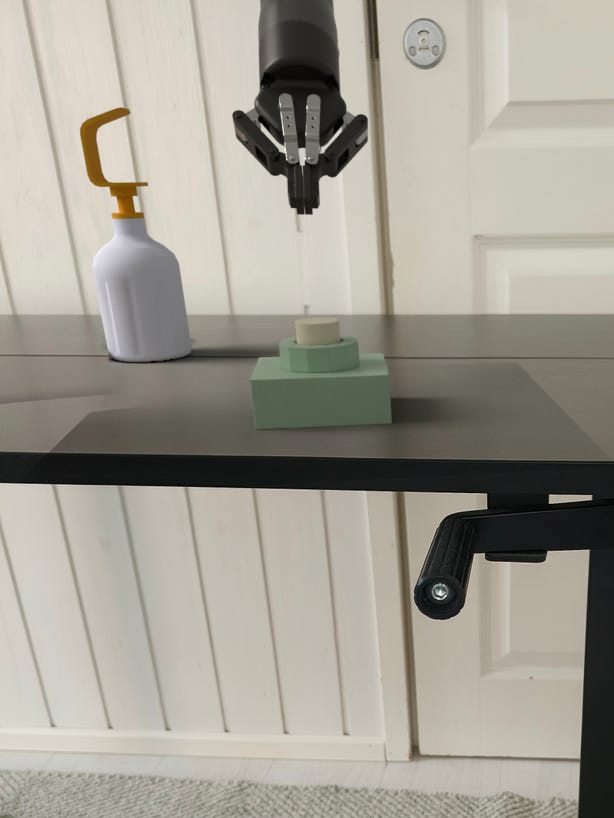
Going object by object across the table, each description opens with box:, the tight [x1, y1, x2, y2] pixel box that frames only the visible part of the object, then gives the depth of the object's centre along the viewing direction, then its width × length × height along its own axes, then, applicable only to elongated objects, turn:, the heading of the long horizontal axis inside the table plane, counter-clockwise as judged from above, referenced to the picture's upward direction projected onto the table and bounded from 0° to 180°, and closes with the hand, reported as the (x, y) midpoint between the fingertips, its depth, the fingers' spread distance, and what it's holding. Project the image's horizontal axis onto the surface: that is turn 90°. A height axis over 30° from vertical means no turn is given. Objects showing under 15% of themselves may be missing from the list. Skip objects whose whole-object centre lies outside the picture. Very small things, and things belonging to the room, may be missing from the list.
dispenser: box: [249, 334, 393, 431], centre depth 78 cm, size 11×10×6 cm
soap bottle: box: [79, 107, 193, 363], centre depth 99 cm, size 9×9×25 cm
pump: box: [294, 317, 341, 345], centre depth 76 cm, size 4×4×2 cm
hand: (304, 208), depth 83 cm, fingers closed
